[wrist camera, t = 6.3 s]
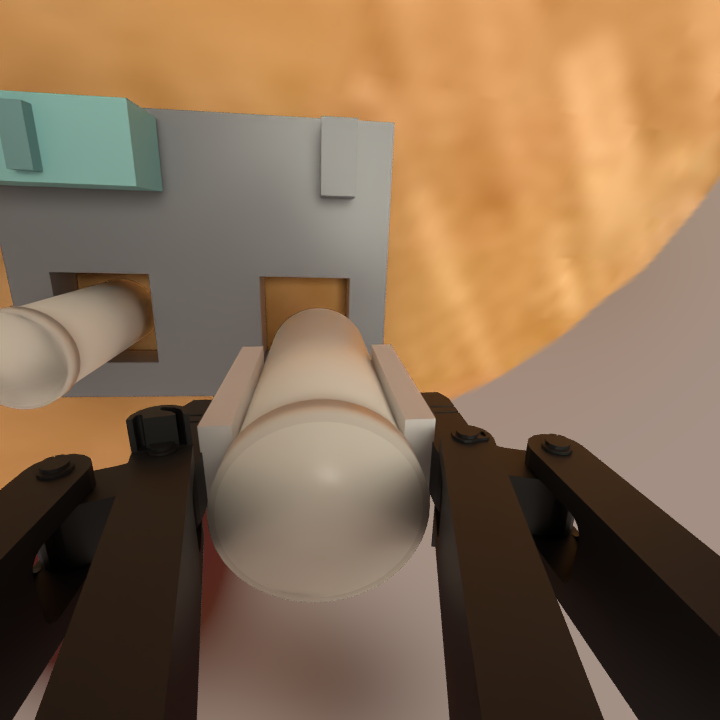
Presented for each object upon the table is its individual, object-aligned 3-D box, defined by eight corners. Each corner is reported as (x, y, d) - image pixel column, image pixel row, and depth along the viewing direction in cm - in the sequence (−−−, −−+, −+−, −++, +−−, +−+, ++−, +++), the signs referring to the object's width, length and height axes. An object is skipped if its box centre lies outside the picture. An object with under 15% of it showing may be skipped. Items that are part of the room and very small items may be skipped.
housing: (5, 111, 27) (-79, 80, 21) (386, 132, 29) (404, 110, 23) (58, 381, 32) (2, 416, 26) (375, 380, 34) (386, 411, 29)
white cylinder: (85, 276, 30) (-57, 309, 19) (156, 277, 30) (61, 310, 19) (95, 342, 31) (-29, 409, 20) (163, 342, 32) (79, 408, 21)
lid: (-34, 106, 24) (-118, 78, 19) (155, 117, 25) (118, 93, 20) (-17, 184, 25) (-92, 175, 20) (162, 191, 26) (129, 184, 21)
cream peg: (262, 308, 20) (188, 425, 8) (365, 301, 20) (430, 405, 9) (274, 403, 21) (224, 613, 10) (370, 395, 22) (429, 589, 10)
